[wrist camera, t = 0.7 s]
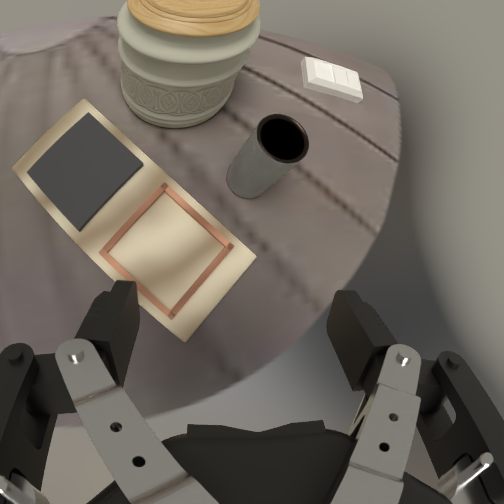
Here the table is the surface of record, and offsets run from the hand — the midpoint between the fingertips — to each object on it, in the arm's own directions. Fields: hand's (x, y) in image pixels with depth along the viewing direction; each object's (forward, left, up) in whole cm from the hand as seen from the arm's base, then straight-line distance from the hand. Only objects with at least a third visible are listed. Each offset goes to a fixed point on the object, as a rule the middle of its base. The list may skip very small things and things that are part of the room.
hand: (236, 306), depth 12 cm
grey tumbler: (-3, +13, -19) cm, 23 cm away
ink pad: (-16, +2, -17) cm, 24 cm away
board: (-10, +2, -19) cm, 21 cm away
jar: (-18, +16, -19) cm, 30 cm away
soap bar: (-5, +34, -19) cm, 40 cm away
